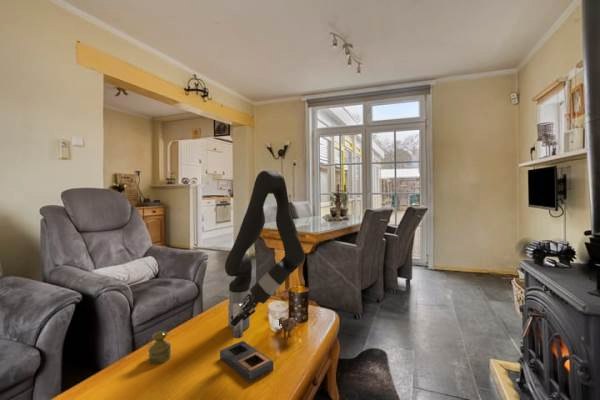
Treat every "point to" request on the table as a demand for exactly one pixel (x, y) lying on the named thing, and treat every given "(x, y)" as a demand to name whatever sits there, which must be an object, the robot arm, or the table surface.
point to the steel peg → (239, 327)
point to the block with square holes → (246, 361)
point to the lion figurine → (287, 325)
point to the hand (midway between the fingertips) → (232, 321)
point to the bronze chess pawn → (159, 349)
